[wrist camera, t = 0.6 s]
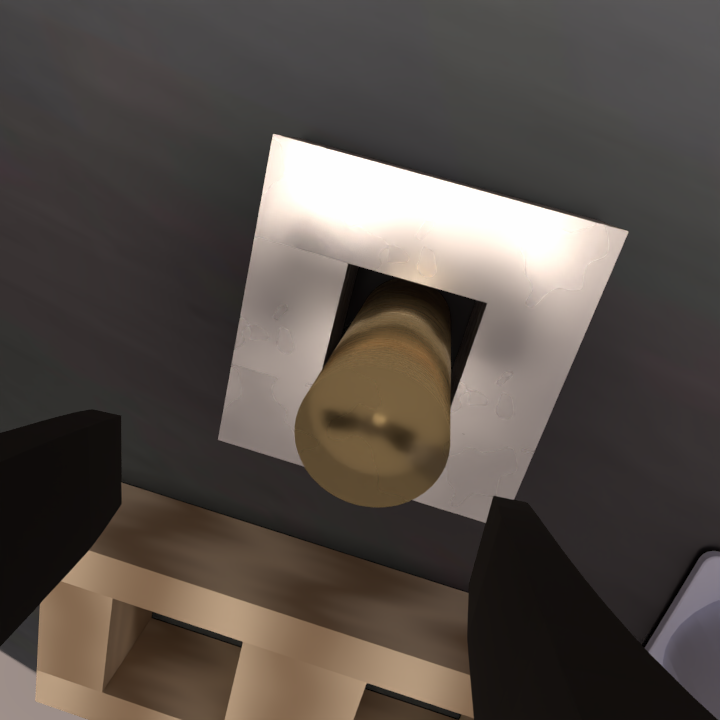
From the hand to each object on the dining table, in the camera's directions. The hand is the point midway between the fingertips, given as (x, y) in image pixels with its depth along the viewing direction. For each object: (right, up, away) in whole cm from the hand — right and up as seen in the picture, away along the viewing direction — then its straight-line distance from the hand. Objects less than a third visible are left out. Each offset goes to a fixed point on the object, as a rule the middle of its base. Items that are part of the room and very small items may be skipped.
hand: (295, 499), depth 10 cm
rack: (-1, -10, +15) cm, 17 cm away
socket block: (+3, +4, +9) cm, 10 cm away
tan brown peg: (+3, +4, +9) cm, 10 cm away
